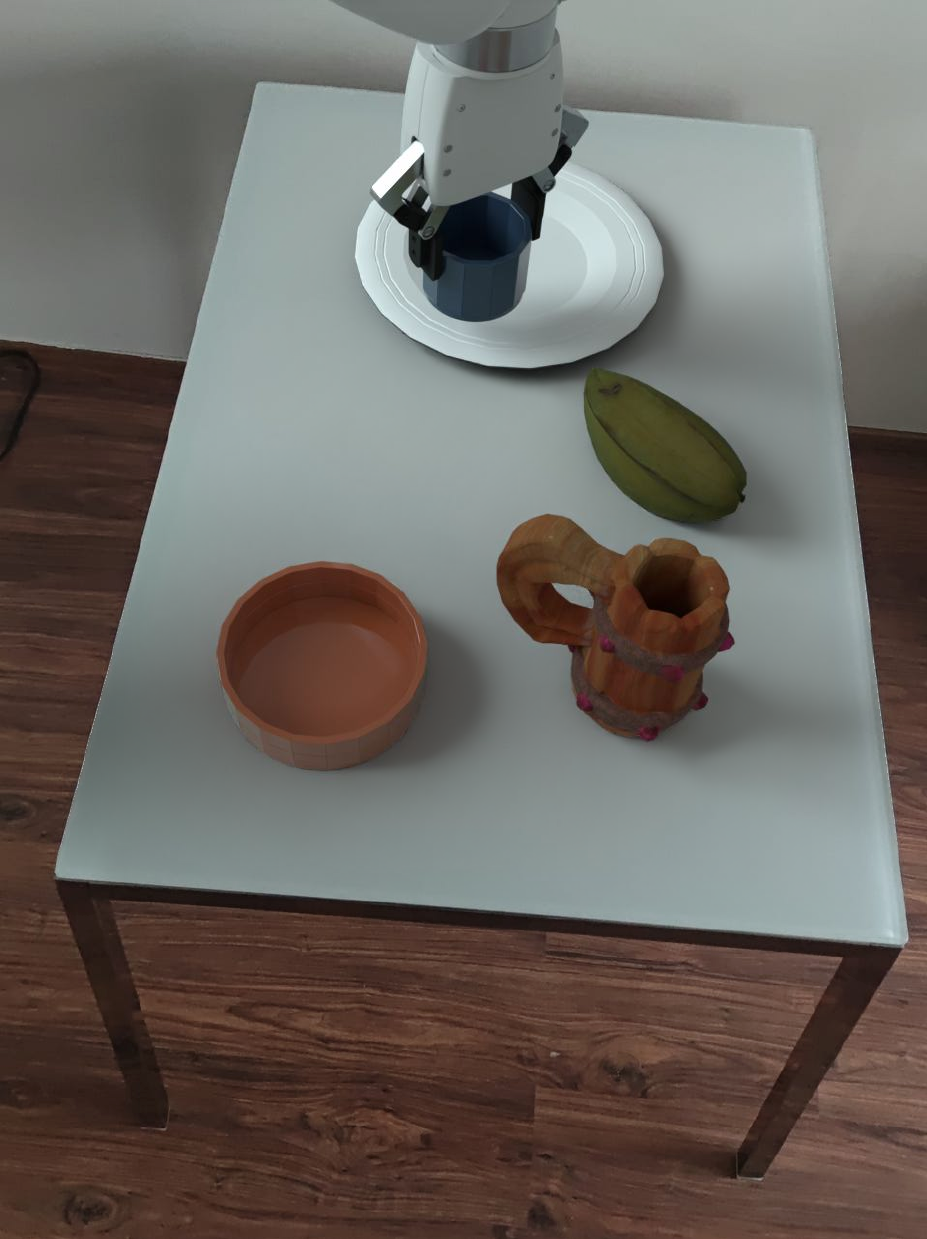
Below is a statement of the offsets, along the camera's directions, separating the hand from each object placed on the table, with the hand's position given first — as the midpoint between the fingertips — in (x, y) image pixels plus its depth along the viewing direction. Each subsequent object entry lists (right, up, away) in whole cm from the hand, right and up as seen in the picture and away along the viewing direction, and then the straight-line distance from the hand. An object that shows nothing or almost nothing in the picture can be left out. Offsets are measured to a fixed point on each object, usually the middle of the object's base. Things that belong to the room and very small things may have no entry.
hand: (475, 246), depth 88 cm
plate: (+3, +2, +12) cm, 13 cm away
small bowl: (0, -2, +3) cm, 4 cm away
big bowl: (-10, -31, -8) cm, 33 cm away
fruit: (+13, -16, +2) cm, 21 cm away
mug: (+8, -31, -7) cm, 33 cm away
